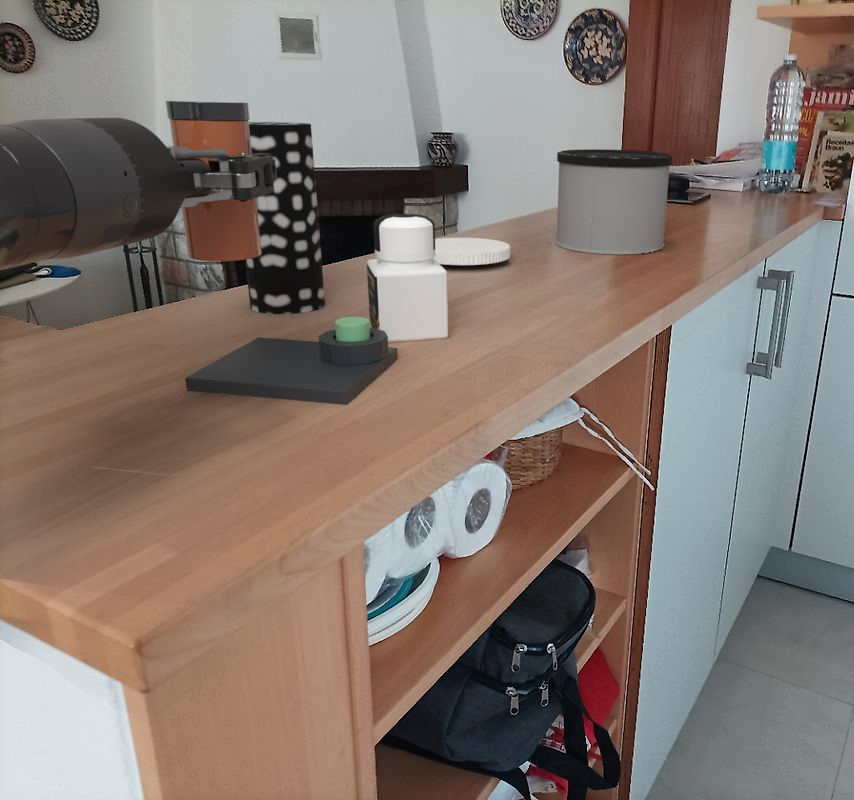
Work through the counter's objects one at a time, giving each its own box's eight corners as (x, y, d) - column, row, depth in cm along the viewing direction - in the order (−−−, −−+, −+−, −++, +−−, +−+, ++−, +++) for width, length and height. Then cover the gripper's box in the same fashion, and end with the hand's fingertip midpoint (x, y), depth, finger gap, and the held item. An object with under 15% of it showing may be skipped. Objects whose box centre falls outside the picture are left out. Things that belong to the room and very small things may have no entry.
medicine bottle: (369, 325, 84) (363, 211, 79) (435, 320, 86) (432, 210, 82) (378, 344, 78) (372, 222, 73) (449, 339, 80) (446, 220, 75)
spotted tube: (338, 306, 91) (325, 124, 84) (273, 318, 85) (253, 125, 78) (301, 293, 96) (285, 122, 89) (237, 304, 91) (215, 122, 83)
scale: (186, 391, 64) (181, 356, 63) (259, 348, 75) (256, 318, 74) (347, 405, 62) (344, 370, 61) (397, 359, 73) (396, 328, 72)
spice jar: (171, 259, 59) (148, 100, 55) (212, 247, 64) (194, 101, 60) (239, 263, 58) (221, 102, 54) (276, 250, 63) (262, 102, 59)
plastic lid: (475, 276, 107) (475, 258, 107) (396, 264, 114) (395, 247, 113) (527, 260, 119) (527, 243, 118) (452, 250, 125) (451, 234, 124)
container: (669, 239, 140) (676, 151, 135) (660, 258, 123) (668, 158, 118) (566, 233, 144) (569, 147, 139) (544, 250, 127) (546, 154, 121)
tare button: (330, 343, 69) (329, 324, 68) (344, 333, 72) (343, 315, 71) (363, 345, 68) (361, 326, 68) (375, 336, 71) (374, 317, 70)
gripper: (182, 122, 43) (316, 117, 59) (-44, 115, 45) (143, 112, 61) (199, 258, 46) (323, 219, 61) (-14, 244, 48) (157, 210, 64)
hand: (233, 166), depth 61 cm, fingers closed on spice jar, 5 cm apart
